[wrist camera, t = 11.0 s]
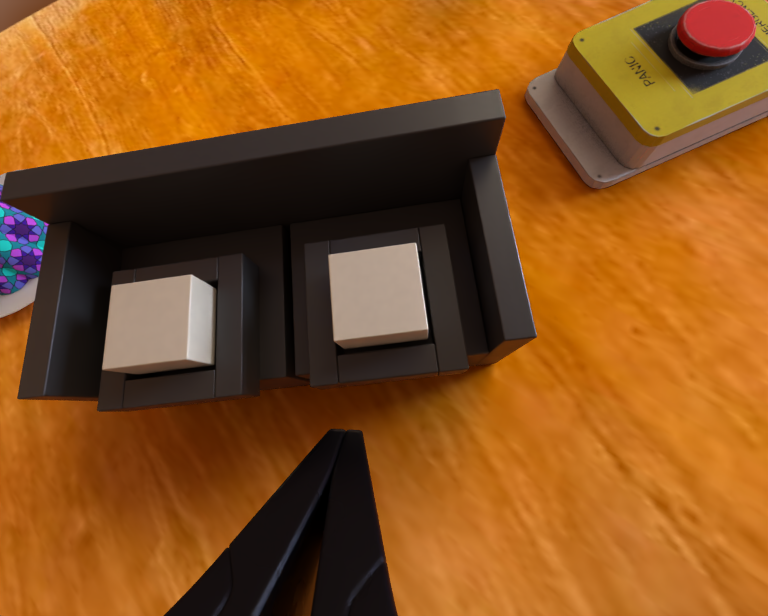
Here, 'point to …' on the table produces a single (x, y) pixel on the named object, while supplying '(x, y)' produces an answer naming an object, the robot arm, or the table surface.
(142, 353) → the key
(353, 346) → the key
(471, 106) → the black hollow block
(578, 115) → the emergency button
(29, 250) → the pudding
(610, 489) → the table surface
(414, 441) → the table surface
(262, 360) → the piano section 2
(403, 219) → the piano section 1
